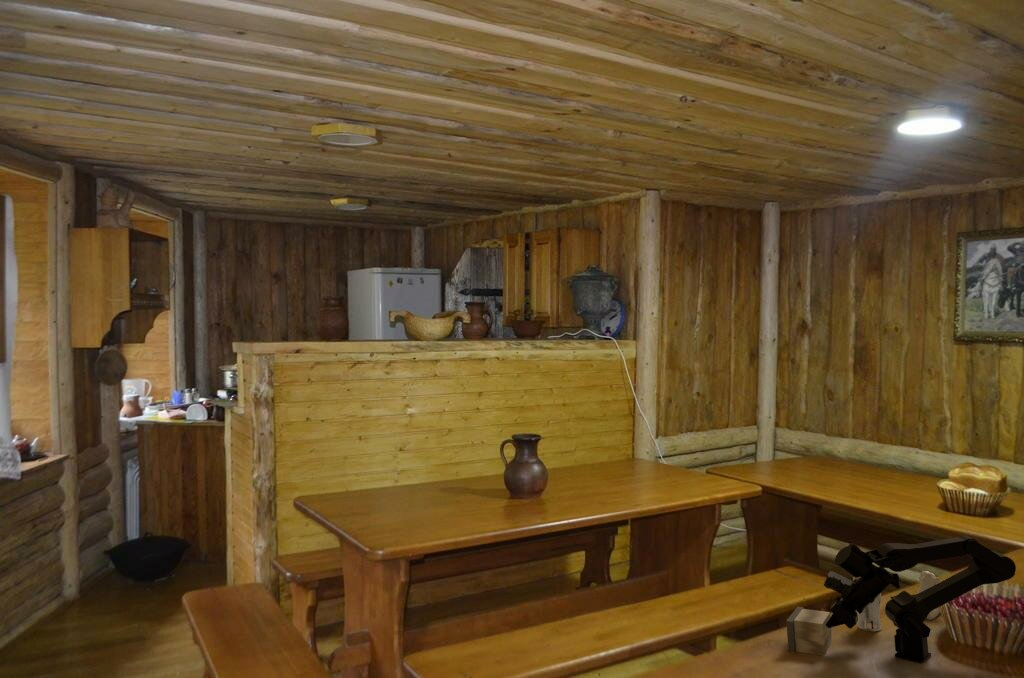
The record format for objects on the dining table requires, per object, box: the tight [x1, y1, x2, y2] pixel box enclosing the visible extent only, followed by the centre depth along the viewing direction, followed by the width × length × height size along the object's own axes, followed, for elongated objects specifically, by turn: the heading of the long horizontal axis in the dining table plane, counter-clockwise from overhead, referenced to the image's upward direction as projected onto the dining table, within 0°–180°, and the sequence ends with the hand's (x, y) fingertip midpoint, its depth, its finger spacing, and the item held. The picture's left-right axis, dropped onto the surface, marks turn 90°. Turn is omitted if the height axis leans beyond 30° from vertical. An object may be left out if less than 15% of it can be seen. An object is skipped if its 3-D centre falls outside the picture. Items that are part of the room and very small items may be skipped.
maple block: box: [794, 608, 833, 657], centre depth 197 cm, size 7×10×8 cm
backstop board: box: [785, 606, 805, 654], centre depth 200 cm, size 2×12×8 cm, turn 145°
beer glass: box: [852, 576, 883, 633], centre depth 208 cm, size 7×7×15 cm
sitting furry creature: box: [916, 570, 941, 621], centre depth 216 cm, size 10×9×12 cm
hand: (827, 626), depth 195 cm, fingers closed, pressing on maple block
